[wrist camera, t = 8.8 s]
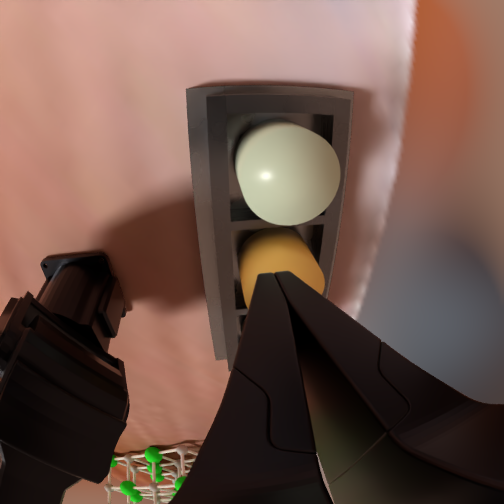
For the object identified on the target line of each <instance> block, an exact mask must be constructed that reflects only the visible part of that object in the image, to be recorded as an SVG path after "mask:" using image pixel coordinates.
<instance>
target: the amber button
mask: <svg viewBox="0 0 504 504" xmlns="http://www.w3.org/2000/svg"><path fill="white" fill-rule="evenodd" d="M237 263H238V269H239V274H240V279H241V285H242V290H243V295H244V300H245V303H246V306H247V308H248V309H249V305H250V301H251V298H252V294H253V290H254V286H255V283H256V279H257V275H258V274H260V273H269V272H272V273H273V274H274V273H275V272H279V271H290V272H292V273H293V274H294V275H296V276H297V277H298V278H300V279H301V280H302V281H304V282H305V283H306V284H308V285H309V286H310V287H312V288H313V289H314V290H316V291H317V292H318V293H320V294H321V295H322V293H323V291H324V286H325V279H324V275H323V273H322V271H321V269H320V267H319V265H318V264H317V262H316V260H315V258H314V257H313V255H312V253H311V251H310V250H309V248H308V246H307V244H306V243H305V241H304V240H303V238H302V237H301V236H300V235H299V234H298V233H297V232H295V231H293V230H291V229H288V228H284V227H274V228H266V229H263V230H260V231H258V232H256V233H255V234H253V235H252V236H250V237H249V238H248V239H247V240H246V241H245V242H244V244H243V245H242V247H241V249H240V251H239V254H238V260H237Z"/></svg>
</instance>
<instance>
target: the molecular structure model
mask: <svg viewBox="0 0 504 504" xmlns="http://www.w3.org/2000/svg"><path fill="white" fill-rule="evenodd" d="M175 451H177V453H178V454H179V455H181V459H177V460H174V459H171V458H168V457H165V456H163V454H164V453H169V452H175ZM187 453H191V454H194V455H198V453H197V452H194V451H191V450H188V448H187V447H186V446H185V445H179V446H178V447H177V448H174V449H169V450H164V451H160V449H158V448H156V447H149V448H147V449H146V451H145V454H140V455H134V456H132V455H131V454H126V455H125V456H124V457H118V458H116V456H115V455H113V457H112V462H111V467H115V466H116V465H117V463H119V464H121V465H124V466H127V481H123V482H122V483H121V484H120V487H113V486H112V485H111V467H110V472H109V474H108V484H106V485H105V490H106V491H107V492H108V504H111V492H113V491H114V490H115V491H118V492H122V493H124V494H125V495H127V504H130V500H131V501H133V502H134V504H136V502H140V501H142V499H143V498H146V499H151V500H153V501H154V504H160V503H161V502H166V503H169V502H170V501H171V500H172V498H173V497H174V496H175V494H176V493H177V491H178V490H179V488H180V487H181V485H182V483H183V482H184V480H185V478H186V476H187V474H185V473H187V472H189V471H190V470H185V466H188V467H192V465H190V464H187V462H193V461H195V459H196V458H194V459H189V460H184V455H186V454H187ZM139 457H145V458H146V459H147V460H148V461H149V462H148V463H147V462H144V461H142V460H139V459H136V458H139ZM162 458H163V459H166V460H169V461H172V463H166V464H161V463H160V461H161V460H162ZM123 459H124V460H125V461H126V462H127V464H125V463H122V462H120V461H118V460H123ZM133 461H137V462H140V463H143V464H146V465H147V466H143V467H137V466H135V465H133V466H131V465H130V463H132V462H133ZM169 465H175V466H176V467H177V468H178V470H173V471H172V470H169V469H166V468H163V467H162V466H169ZM180 468H182V471H181V469H180ZM143 469H148V471H146V470H143ZM130 470H131V471H132V472H133V482H131V481H130ZM162 470H165V471H168V472H171V473H162V472H161V471H162ZM139 471H142V472H145V473H148V474H150V477H151V479H152V480H153V483H150V485H149V486H136V473H138V472H139ZM164 475H172V476H173V477H175V478H170V477H166V476H164ZM181 475H182V477H181ZM164 478H166V479H170V480H172V482H173V483H174V484H167V485H159V484H158V482H161V481H163V479H164ZM167 487H175V489H174V490H170V489H166V488H167ZM146 489H150V490H151V491H150V490H146ZM138 490H140V491H144V492H148V493H141V492H140V491H138ZM160 490H162V491H167V492H165V493H160ZM160 495H162V496H167V497H171V498H170V499H161V498H160ZM147 496H153V498H151V497H147Z"/></svg>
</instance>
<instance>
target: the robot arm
mask: <svg viewBox="0 0 504 504" xmlns="http://www.w3.org/2000/svg"><path fill="white" fill-rule="evenodd" d="M100 258H102V259H104V261H103V260H100ZM46 264H47V265H46ZM41 268H42V270H43V272H44V275H45V277H46V279H47V280H46V281H45V283H44V285H43V286H42V288H41V290H40V292H39V294H38V295H37V297H36V299H35V298H34V297H33V295H32V294H31V293H30V292H29V291H27V293H26V294H25V296H24V297H23V298H22V297H20V298H19V299H17V298H11V299H10V301H9V302H8V304H7V306H6V307H5V309H4V311H3V313H2V314H1V316H0V504H62V501H63V498H64V494H65V492H66V490H67V489H69V488H70V487H72V486H73V485H74V484H76V483H78V482H79V481H81V480H82V479H85V480H88V481H90V482H94V483H97V484H99V483H101V482H102V481H103V480H104V478H105V477H106V476H107V475H108V474H109V472H110V467H111V462H112V457H113V453H114V450H115V447H116V444H117V442H118V440H119V437H120V436H121V434H122V432H123V431H124V429H125V428H126V425H127V423H126V420H127V418H128V414H129V406H130V404H129V395H128V390H127V383H126V376H125V368H124V362H123V361H122V360H120V359H118V358H115V357H113V356H112V355H110V354H108V353H107V352H108V348H109V344H110V339H111V338H115V337H116V336H117V332H118V328H119V324H120V320H121V318H122V317H125V315H126V308H125V305H124V304H125V299H124V296H123V294H122V291H121V288H120V285H119V282H118V279H117V278H116V277H115V276H114V274H113V271H112V268H111V265H110V261H109V258H108V256H107V255H106V254H105V253H103V252H99V253H89V254H80V255H70V256H61V257H52V258H44V259H43V260H42V262H41ZM317 453H318V456H319V459H320V462H321V465H322V468H323V471H324V474H325V476H326V479H327V482H328V484H329V488H330V491H331V494H332V497H333V500H334V503H335V504H504V404H487V403H482V402H479V401H476V400H473V399H471V398H469V397H467V396H465V395H464V394H462V393H460V392H459V391H457V390H455V389H454V388H452V387H450V386H449V385H447V384H445V383H444V382H442V381H440V380H439V379H437V378H436V377H434V376H432V375H431V374H429V373H427V372H426V371H424V370H422V369H421V368H420V367H418V366H417V365H415V364H414V363H412V362H410V361H409V360H408V359H406V358H405V357H403V356H402V355H401V354H399V353H398V352H397V351H395V350H394V349H392V348H391V347H390V346H389V345H387V344H386V343H385V342H381V340H380V339H379V338H378V337H377V336H375V335H374V334H372V333H371V332H370V331H368V330H367V329H366V328H365V327H363V326H362V325H361V324H359V323H358V322H357V321H356V320H354V319H353V318H352V317H350V316H349V315H348V314H346V313H345V312H344V311H342V310H341V309H340V308H338V307H337V306H336V305H334V304H333V303H332V302H330V301H329V300H328V299H326V298H325V297H324V296H322V295H321V294H320V293H318V292H317V291H316V290H314V289H313V288H312V287H310V286H309V285H308V284H306V283H305V282H304V281H302V280H301V279H300V278H298V277H297V276H296V275H294V274H293V273H292V272H290V271H279V272H275V273H274V274H273V273H272V272H269V273H260V274H258V275H257V279H256V283H255V286H254V290H253V294H252V298H251V301H250V305H249V309H248V312H247V316H246V320H245V324H244V327H243V331H242V335H241V338H240V342H239V346H238V349H237V353H236V357H235V360H234V364H233V369H232V370H231V374H230V377H229V381H228V384H227V387H226V390H225V393H224V396H223V400H222V402H221V405H220V407H219V410H218V412H217V414H216V417H215V419H214V422H213V424H212V426H211V428H210V430H209V432H208V434H207V436H206V438H205V441H204V443H203V445H202V447H201V449H200V451H199V453H198V455H197V457H196V459H195V461H194V463H193V465H192V467H191V469H190V471H189V473H188V475H187V476H186V478H185V480H184V482H183V483H182V485H181V487H180V488H179V490H178V491H177V493H176V494H175V496H174V497H173V498H172V500H171V501H170V502H169V503H168V504H333V502H332V499H331V497H330V495H329V493H328V491H327V488H326V486H325V484H324V481H323V478H322V474H321V471H320V467H319V462H318V457H317V455H316V454H317Z"/></svg>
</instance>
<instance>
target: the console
mask: <svg viewBox="0 0 504 504" xmlns="http://www.w3.org/2000/svg"><path fill="white" fill-rule="evenodd" d="M353 94H354V92H352V91H345V90H336V89H326V88H315V87H300V86H276V85H239V86H215V87H201V88H189V89H186V100H187V118H188V134H189V148H190V161H191V173H192V184H193V194H194V205H195V214H196V223H197V232H198V241H199V249H200V257H201V265H202V273H203V280H204V288H205V295H206V302H207V308H208V315H209V321H210V328H211V334H212V340H213V346H214V352H215V358H216V360H224V359H227V361H228V369H229V371H231V370H232V369H233V364H234V360H235V357H236V353H237V349H238V346H239V342H240V338H241V326H242V323H243V321H244V320H245V319H246V316H247V312H248V308H247V306H246V303H245V300H244V295H243V290H242V285H241V279H240V274H239V269H238V263H237V260H238V254H239V251H240V249H241V247H242V245H243V244H244V242H245V241H246V240H247V239H248V238H249V237H250V236H252V235H253V234H255V233H256V232H258V231H260V230H263V229H266V228H274V227H284V228H288V229H291V230H293V231H295V232H297V233H298V234H299V235H300V236H301V237H302V238H303V240H304V241H305V243H306V244H307V246H308V248H309V250H310V251H311V253H312V255H313V257H314V258H315V260H316V262H317V264H318V265H319V267H320V269H321V271H322V273H323V275H324V279H325V286H324V291H323V293H322V296H324V297H325V298H326V299H327V298H328V293H329V288H330V283H331V278H332V272H333V267H334V261H335V255H336V250H337V244H338V237H339V231H340V224H341V218H342V211H343V203H344V196H345V188H346V179H347V170H348V161H349V151H350V139H351V127H352V112H353ZM271 119H283V120H288V121H291V122H293V123H295V124H297V125H300V126H302V127H304V128H306V129H308V130H310V131H312V132H314V133H316V134H318V135H319V136H321V137H322V138H324V139H325V140H326V141H327V142H328V143H329V144H330V145H331V147H332V148H333V149H334V151H335V153H336V155H337V158H338V160H339V164H340V183H339V187H338V190H337V192H336V195H335V197H334V198H333V200H332V202H331V203H330V204H329V206H328V207H327V208H326V209H325V210H324V211H323V212H322V213H320V214H319V215H318V216H316V217H315V218H313V219H311V220H309V221H307V222H304V223H301V224H297V225H277V224H273V223H270V222H267V221H265V220H264V219H262V218H260V217H259V216H257V215H256V214H255V213H254V212H253V211H252V210H251V209H250V207H249V206H248V204H247V203H246V201H245V198H244V196H243V193H242V190H241V187H240V184H239V181H238V178H237V176H236V173H235V169H234V153H235V149H236V146H237V144H238V142H239V140H240V139H241V137H242V136H243V135H244V133H245V132H246V131H247V130H249V129H250V128H251V127H253V126H254V125H256V124H258V123H260V122H263V121H266V120H271Z"/></svg>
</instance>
